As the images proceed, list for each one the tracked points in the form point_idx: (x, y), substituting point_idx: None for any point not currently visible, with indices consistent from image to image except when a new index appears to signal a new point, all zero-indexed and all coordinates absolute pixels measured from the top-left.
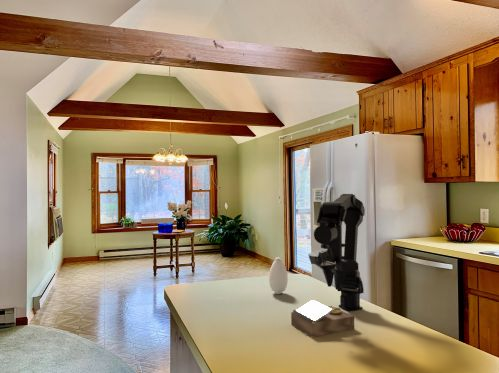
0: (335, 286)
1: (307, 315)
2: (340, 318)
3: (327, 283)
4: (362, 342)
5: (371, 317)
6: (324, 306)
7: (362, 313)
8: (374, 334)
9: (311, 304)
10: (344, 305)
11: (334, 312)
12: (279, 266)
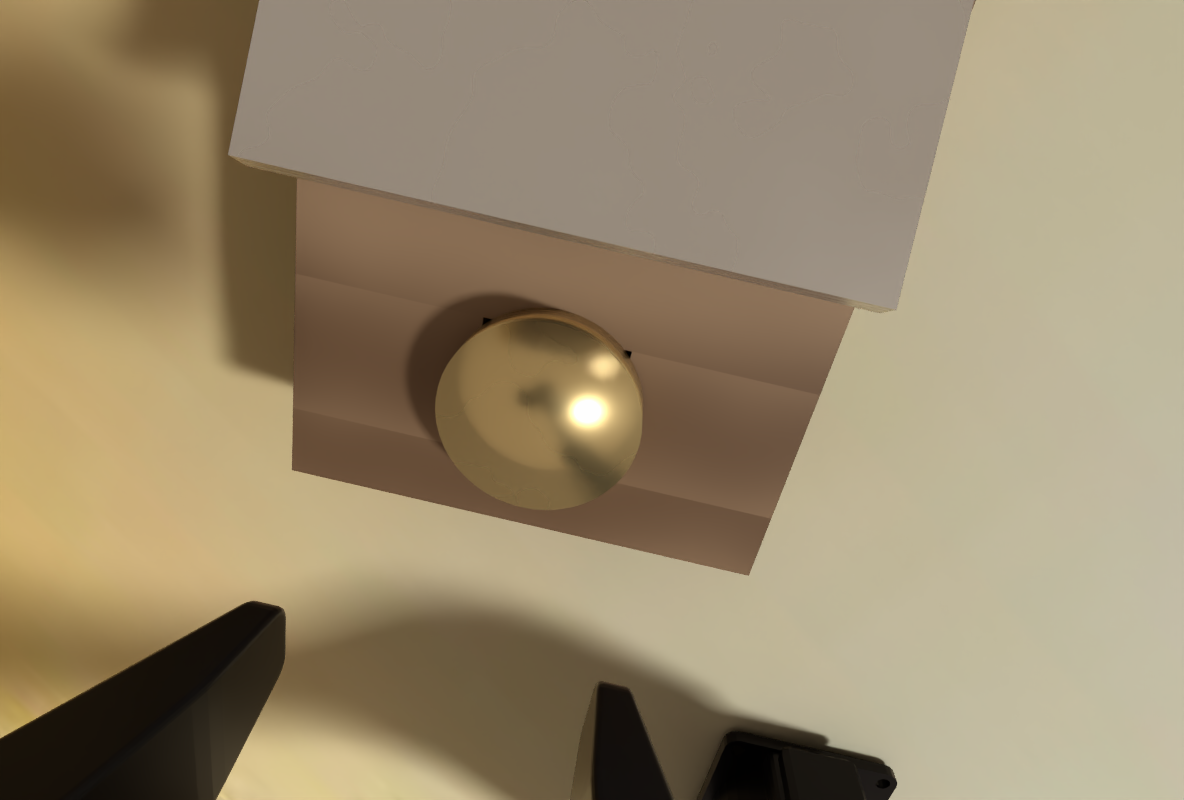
0: (221, 652)
1: None
2: (302, 274)
3: (627, 746)
4: (40, 176)
5: (498, 725)
6: (453, 182)
7: None
8: (171, 432)
9: (797, 159)
10: (791, 770)
11: (460, 348)
12: None
